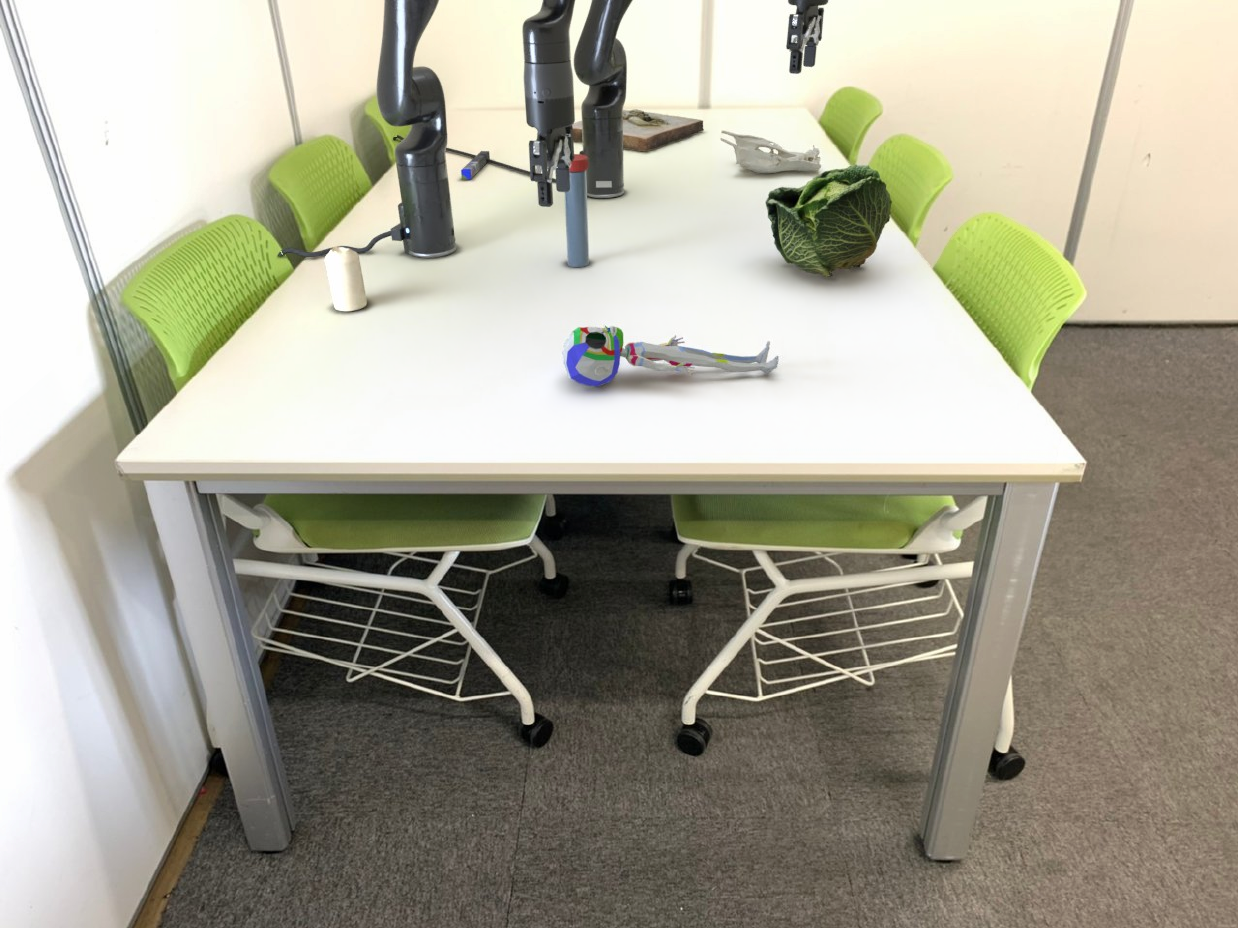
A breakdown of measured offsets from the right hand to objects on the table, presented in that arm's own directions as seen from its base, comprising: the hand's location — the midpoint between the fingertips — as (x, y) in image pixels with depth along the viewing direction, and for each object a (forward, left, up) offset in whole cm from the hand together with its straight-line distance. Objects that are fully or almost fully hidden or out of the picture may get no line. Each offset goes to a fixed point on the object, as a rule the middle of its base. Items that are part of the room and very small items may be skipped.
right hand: (802, 70), depth 176 cm
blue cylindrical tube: (-26, -44, -29) cm, 59 cm away
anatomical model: (-17, +35, -29) cm, 49 cm away
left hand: (-21, -60, -12) cm, 65 cm away
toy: (+9, -79, -29) cm, 85 cm away
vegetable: (+16, -27, -29) cm, 43 cm away
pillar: (-85, +5, -29) cm, 90 cm away
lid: (-26, -44, -10) cm, 52 cm away
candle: (-51, -79, -29) cm, 99 cm away
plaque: (-66, +56, -29) cm, 91 cm away
